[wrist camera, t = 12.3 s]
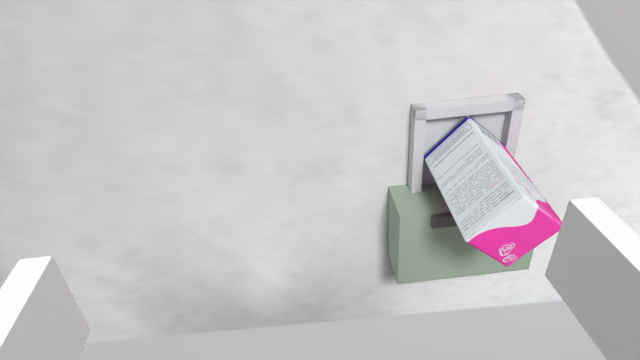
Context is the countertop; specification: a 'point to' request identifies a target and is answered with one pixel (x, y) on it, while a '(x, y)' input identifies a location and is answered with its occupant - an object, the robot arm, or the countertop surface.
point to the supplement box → (490, 193)
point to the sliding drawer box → (427, 201)
